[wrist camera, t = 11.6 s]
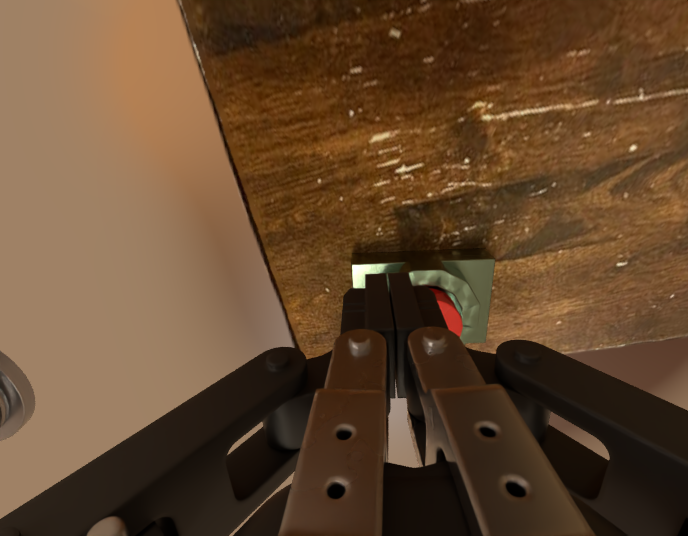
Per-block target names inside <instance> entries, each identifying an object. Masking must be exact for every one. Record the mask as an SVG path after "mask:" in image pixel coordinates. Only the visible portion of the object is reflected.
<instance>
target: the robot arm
mask: <svg viewBox="0 0 688 536" xmlns="http://www.w3.org/2000/svg"><path fill="white" fill-rule="evenodd" d="M395 380H396V388H397V396H398V398H406V399H407V409H408V410H407V420H408V425H409V429H410V433H411V437H412V441H413V445H414V449H415V453H416V457H417V461H418V465H419V467H418V468H411V467H406V466H402V465H397V464H392V463H388V415H389V413H390V398H395ZM9 411H10V409H9V403H8V400H7V397H6V395H5V393H4V392H3V390H2V389H1V387H0V428H1V427H2V426H3V425H4V424H5V423H6V421H7V420H8V417H9ZM551 412H553V413H555V414H557V415H558V416H560V417H562V418H564V419H565V420H567V421H569V422H571V423H572V424H574V425H576V426H578V427H579V428H581V429H583V430H584V431H586V432H588V433H589V434H591V435H593V436H595V437H596V438H597V439H599V440H600V441H601V442H602V443H603V444H604V446H605V447H606V449H607V450H608V452H609V456H610V460H607V459H605V458H603V457H602V456H600V455H598V454H597V453H595V452H593V451H592V450H590V449H588V448H587V447H585V446H584V445H582V444H580V443H579V442H577V441H575V440H574V439H572V438H570V437H569V436H567V435H565V434H564V433H562V432H560V431H559V430H557V429H555V428H554V427H552V426H550V425H549V424H548V423H549V418H550V413H551ZM260 422H263V427H262V428H261V429H260V430H258V431H257V432H256V433H255V434H253V435H252V436H251V437H250V438H248V439H247V440H246V441H245V442H243V443H242V444H241V445H240V446H239V447H238V448H236V449H235V450H234V451H232V452H231V453H230V454H229V455H227V454H228V451H229V450H230V448H231V447H232V445H233V444H234V443H235V442H236V441H238V440H239V439H240V438H241V437H243V436H244V435H245V434H246V433H248V432H249V431H250V430H251V429H252V428H254V427H255V426H257V425H258V424H259V423H260ZM294 471H295V473H294V477H293V481H292V484H290V485H288V486H286V487H285V488H283V489H282V490H280V491H279V492H277V493H276V494H275V495H273V496H272V497H271V498H270V499H268V500H267V501H266V502H265V503H264V504H263V505H262V506H261V507H260V508H259V509H258V510H257V511H256V512H255V513H254V514H253V515H252V516H251V517H250V518H249V520H248V521H247V522H246V523H245V524H244V525H243V526H242V527H241V528H240V529H239V530H238V531H237V532H236V533H235V534H234V535H233V536H688V411H687V410H685V409H683V408H681V407H678V406H676V405H674V404H672V403H670V402H668V401H665V400H663V399H661V398H659V397H656V396H654V395H652V394H650V393H648V392H645V391H643V390H641V389H639V388H637V387H634V386H632V385H630V384H628V383H625V382H623V381H621V380H619V379H617V378H614V377H612V376H610V375H607V374H605V373H603V372H601V371H599V370H596V369H594V368H592V367H590V366H588V365H586V364H583V363H581V362H579V361H577V360H575V359H572V358H570V357H568V356H566V355H564V354H561V353H559V352H557V351H555V350H552V349H550V348H548V347H546V346H544V345H541V344H539V343H536V342H532V341H528V340H510V341H506V342H503V343H502V344H500V345H499V346H498V348H497V350H496V354H492V353H486V352H480V351H476V350H472V349H469V348H466V347H465V346H464V344H463V342H462V340H461V339H460V337H459V336H458V335H457V334H455V333H454V332H452V331H450V330H449V329H448V326H447V324H446V321H445V319H444V316H443V314H442V311H441V309H440V306H439V304H438V302H437V299H436V296H435V293H434V292H433V291H432V290H431V289H429V288H428V287H427V286H425V285H416V286H413V285H412V282H411V279H410V275H409V272H397V273H387V278H386V273H377V274H365V288H350V289H349V290H348V292H347V293H346V294H345V295H344V297H343V310H342V322H341V334H340V336H339V337H338V338H337V339H336V340H335V343H334V347H333V350H331V351H330V352H328V353H326V354H324V355H322V356H318V357H315V358H311V359H307V360H306V357H305V355H304V353H303V352H302V351H300V350H298V349H296V348H292V347H278V348H273V349H270V350H268V351H265V352H263V353H262V354H260V355H258V356H257V357H255V358H254V359H252V360H250V361H249V362H247V363H246V364H245V365H243V366H241V367H239V368H238V369H236V370H235V371H233V372H232V373H230V374H228V375H227V376H225V377H224V378H222V379H221V380H219V381H217V382H216V383H214V384H213V385H211V386H210V387H208V388H206V389H205V390H203V391H202V392H200V393H198V394H197V395H195V396H194V397H192V398H191V399H189V400H187V401H186V402H184V403H183V404H181V405H180V406H178V407H176V408H175V409H173V410H172V411H170V412H168V413H167V414H165V415H164V416H162V417H161V418H159V419H157V420H156V421H154V422H153V423H151V424H150V425H148V426H146V427H145V428H143V429H142V430H140V431H139V432H137V433H135V434H134V435H132V436H131V437H129V438H128V439H126V440H124V441H123V442H121V443H120V444H118V445H116V446H115V447H113V448H112V449H110V450H108V451H107V452H105V453H104V454H102V455H101V456H99V457H97V458H96V459H94V460H93V461H91V462H90V463H88V464H86V465H85V466H83V467H82V468H80V469H79V470H77V471H75V472H74V473H72V474H71V475H69V476H68V477H66V478H64V479H63V480H61V481H60V482H58V483H56V484H55V485H53V486H52V487H50V488H49V489H47V490H45V491H44V492H42V493H41V494H39V495H38V496H36V497H34V498H33V499H31V500H30V501H28V502H27V503H25V504H23V505H22V506H20V507H19V508H17V509H15V510H14V511H12V512H11V513H9V514H8V515H6V516H4V517H3V518H1V519H0V536H229V535H230V534H231V533H232V532H233V531H234V530H235V529H236V528H237V527H238V526H239V525H240V524H241V523H242V522H243V521H244V520H245V519H246V518H247V517H248V516H249V515H250V514H251V513H252V512H253V511H254V510H255V509H256V508H257V507H258V506H260V504H262V503H263V502H264V501H265V500H266V498H267V497H269V496H270V495H271V494H272V493H273V492H274V491H275V490H276V489H277V488H278V487H279V486H280V485H281V484H282V483H283V482H284V481H285V480H286V479H287V478H288V477H289V476H290V475H291V474H292V473H293V472H294Z"/></svg>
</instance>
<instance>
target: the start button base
mask: <svg viewBox="0 0 688 536" xmlns="http://www.w3.org/2000/svg"><path fill="white" fill-rule="evenodd" d="M494 266H495V258H494V257H493V256H492V255H491V254H490V252H489V251H488V250H487V249H486V248H473V249H448V250H423V251H398V252H373V253H352V259H351V269H352V288H365V274H377V273H386V278H387V273H397V272H409V275H410V279H411V282H412V285H413V286H416V285H425V286H427V287H428V288H433V289H437V290H440V291H442V292H444V293H446V294H447V295H448V296H449V297H450V298H451V299H452V300H453V302H454V303H455V306H456V308H457V310H458V312H459V314H460V316H461V318H462V323H463V328H462V333H461V336H460V339H461V340H462V342H463V344H464V345H465V344H466V343H485V342H486V334H487V326H488V317H489V309H490V300H491V292H492V283H493V275H494Z"/></svg>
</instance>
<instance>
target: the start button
mask: <svg viewBox="0 0 688 536" xmlns="http://www.w3.org/2000/svg"><path fill="white" fill-rule="evenodd" d="M429 289H431V290H432V291H433V292H434V293H435V296H436V299H437V302H438V304H439V306H440V309H441V311H442V314H443V316H444V319H445V321H446V324H447V326H448V329H449V330H450V331H452V332H454V333H455V334H457V335H458V336H459V337H460V336H461V333H462V328H463V323H462V318H461V316H460V314H459V312H458V310H457V308H456V306H455V303H454V302H453V300H452V299H451V298H450V297H449V296H448V295H447V294H446V293H444V292H442V291H440V290H437V289H433V288H429Z"/></svg>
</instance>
